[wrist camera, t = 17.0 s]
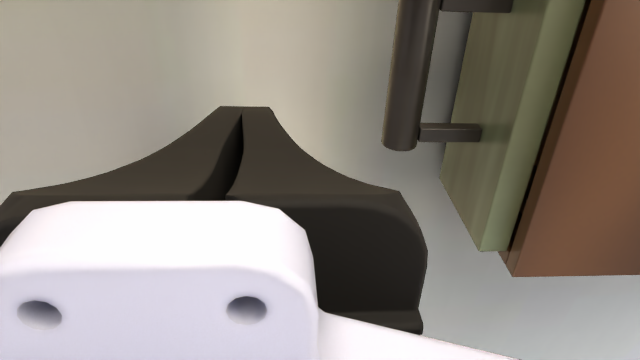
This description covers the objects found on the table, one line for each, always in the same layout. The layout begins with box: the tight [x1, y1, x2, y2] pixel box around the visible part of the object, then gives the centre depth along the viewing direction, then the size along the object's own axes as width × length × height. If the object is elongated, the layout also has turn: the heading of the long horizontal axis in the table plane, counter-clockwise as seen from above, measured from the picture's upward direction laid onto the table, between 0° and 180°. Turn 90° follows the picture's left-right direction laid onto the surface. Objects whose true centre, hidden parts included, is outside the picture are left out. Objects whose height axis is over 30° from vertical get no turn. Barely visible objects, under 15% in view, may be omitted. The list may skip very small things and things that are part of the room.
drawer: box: [381, 0, 591, 252], centre depth 19 cm, size 17×13×6 cm
